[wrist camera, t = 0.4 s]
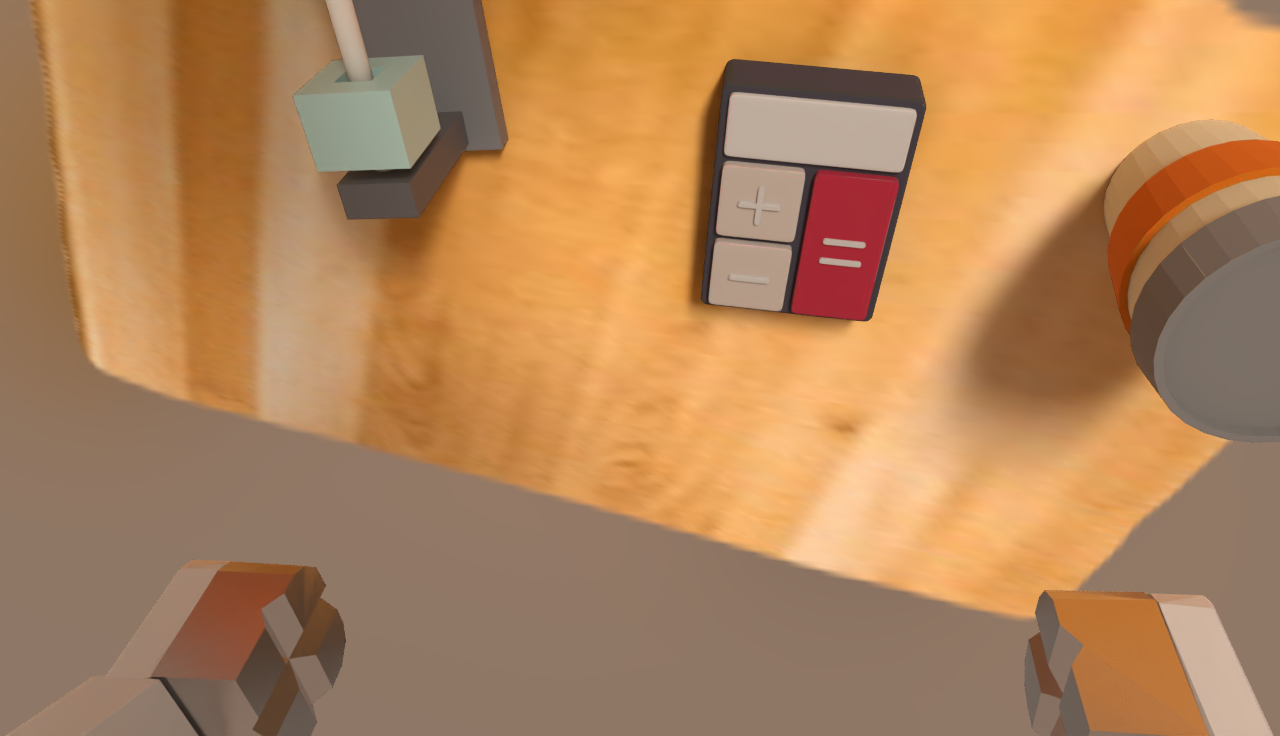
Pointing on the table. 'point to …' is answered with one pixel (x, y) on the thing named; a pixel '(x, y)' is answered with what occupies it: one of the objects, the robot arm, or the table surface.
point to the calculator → (808, 186)
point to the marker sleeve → (369, 115)
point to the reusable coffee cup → (1202, 273)
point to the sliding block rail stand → (460, 82)
